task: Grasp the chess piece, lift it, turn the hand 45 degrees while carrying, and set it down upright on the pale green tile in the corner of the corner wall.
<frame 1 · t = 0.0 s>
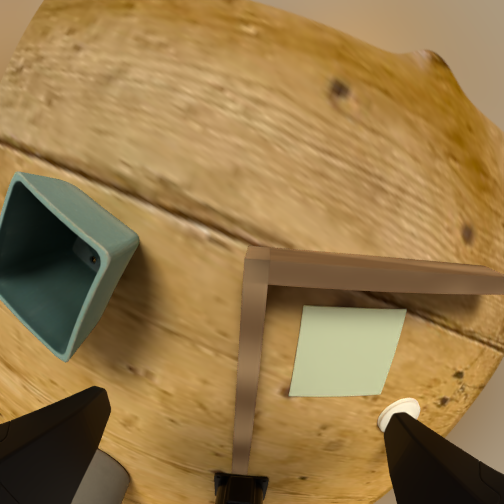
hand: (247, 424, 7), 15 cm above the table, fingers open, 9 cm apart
chess piece: (397, 413, 24), on the table
flower pot: (104, 243, 22), on the table
corner wall: (363, 373, 23), on the table
canister: (98, 462, 29), on the table
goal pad: (347, 355, 23), on the table
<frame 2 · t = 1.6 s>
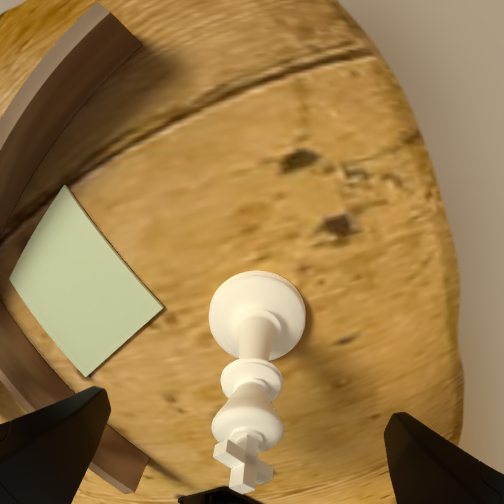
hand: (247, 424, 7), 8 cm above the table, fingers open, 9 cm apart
chess piece: (257, 314, 15), on the table
corner wall: (107, 298, 15), on the table
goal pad: (70, 291, 15), on the table
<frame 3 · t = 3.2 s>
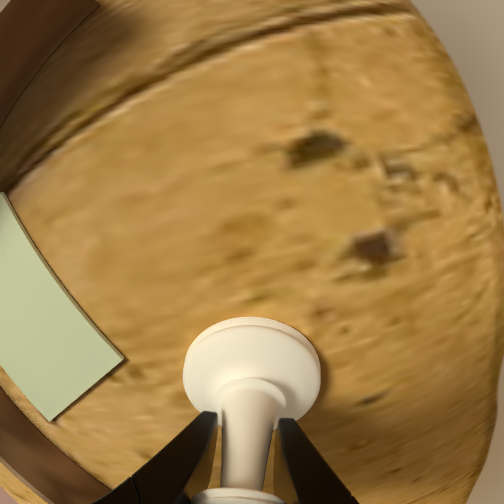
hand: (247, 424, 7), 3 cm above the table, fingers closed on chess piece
chess piece: (252, 373, 10), on the table, touching gripper
corner wall: (57, 339, 10), on the table
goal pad: (18, 325, 10), on the table
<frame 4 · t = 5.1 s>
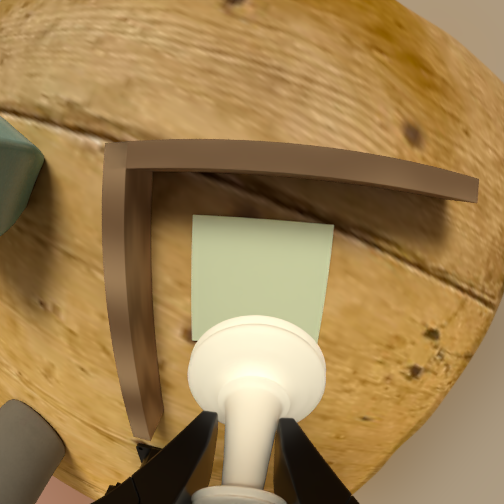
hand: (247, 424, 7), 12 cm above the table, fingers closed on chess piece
chess piece: (257, 372, 10), point 10 cm above the table, touching gripper
flower pot: (24, 170, 19), on the table
corner wall: (285, 316, 20), on the table
canister: (37, 426, 26), on the table
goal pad: (258, 286, 19), on the table
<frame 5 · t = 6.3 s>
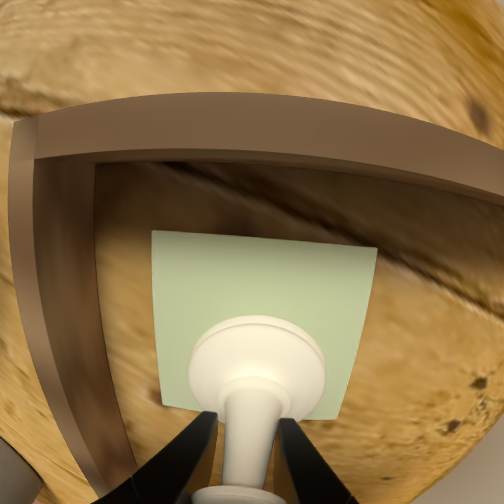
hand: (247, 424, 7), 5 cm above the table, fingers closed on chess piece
chess piece: (257, 372, 10), point 2 cm above the table, touching gripper
corner wall: (296, 380, 12), on the table
canister: (12, 455, 19), on the table
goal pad: (256, 341, 12), on the table
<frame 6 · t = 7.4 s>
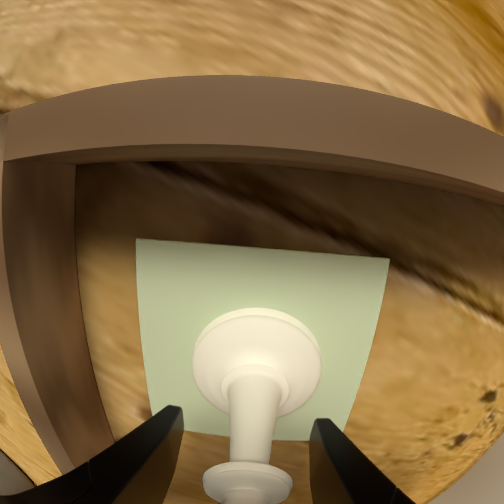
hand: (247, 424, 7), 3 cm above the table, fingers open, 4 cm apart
chess piece: (256, 362, 11), resting on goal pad
corner wall: (297, 401, 11), on the table
canister: (6, 462, 17), on the table
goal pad: (253, 361, 11), on the table
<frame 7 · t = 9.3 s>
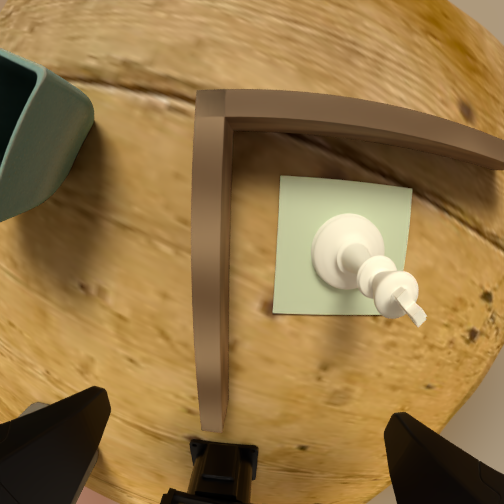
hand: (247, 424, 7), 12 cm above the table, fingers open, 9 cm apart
chess piece: (346, 250, 18), resting on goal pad
flower pot: (64, 136, 18), on the table
corner wall: (369, 280, 19), on the table
canister: (64, 431, 25), on the table
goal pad: (345, 250, 18), on the table
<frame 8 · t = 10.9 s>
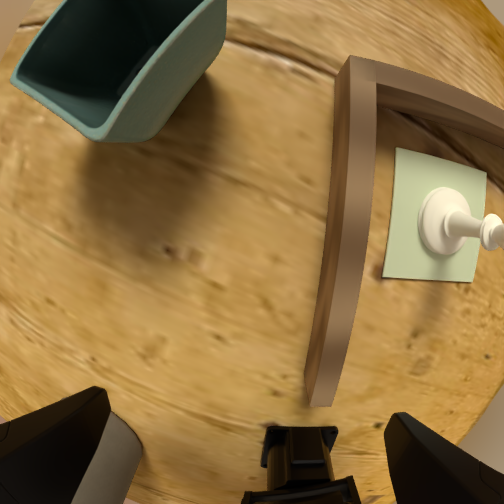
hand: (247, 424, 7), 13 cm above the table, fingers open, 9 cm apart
chess piece: (442, 220, 18), resting on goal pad
flower pot: (160, 82, 17), on the table
corner wall: (456, 249, 18), on the table
canister: (100, 429, 24), on the table
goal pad: (441, 220, 18), on the table
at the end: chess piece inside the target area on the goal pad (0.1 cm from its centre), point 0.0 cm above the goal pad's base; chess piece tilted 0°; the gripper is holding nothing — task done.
